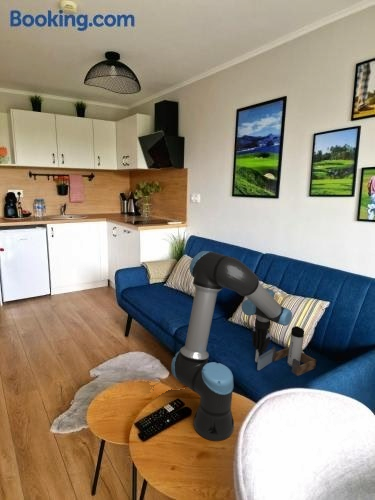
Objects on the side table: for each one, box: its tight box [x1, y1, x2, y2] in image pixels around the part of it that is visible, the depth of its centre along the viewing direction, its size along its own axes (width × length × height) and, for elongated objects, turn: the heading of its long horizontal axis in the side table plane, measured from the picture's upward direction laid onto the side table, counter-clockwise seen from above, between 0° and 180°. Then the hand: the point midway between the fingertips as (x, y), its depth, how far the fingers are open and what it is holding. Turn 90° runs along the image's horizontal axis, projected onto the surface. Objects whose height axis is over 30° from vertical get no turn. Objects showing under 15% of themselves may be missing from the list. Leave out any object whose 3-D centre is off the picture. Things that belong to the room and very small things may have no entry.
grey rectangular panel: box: [256, 348, 274, 371], centre depth 164 cm, size 12×1×7 cm, turn 136°
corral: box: [271, 346, 317, 377], centre depth 167 cm, size 16×16×8 cm
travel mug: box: [287, 325, 305, 368], centre depth 166 cm, size 6×7×20 cm
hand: (257, 361), depth 165 cm, fingers closed
